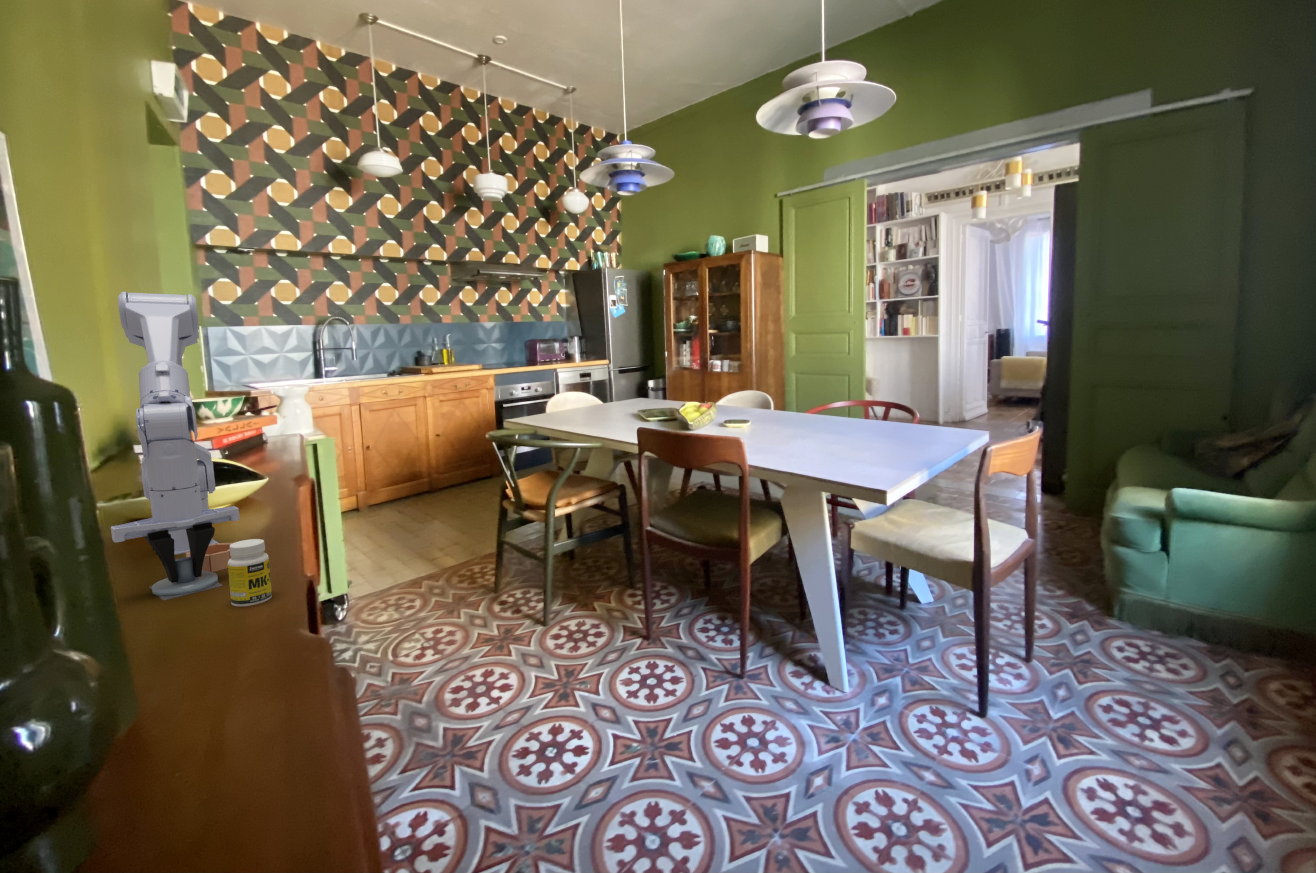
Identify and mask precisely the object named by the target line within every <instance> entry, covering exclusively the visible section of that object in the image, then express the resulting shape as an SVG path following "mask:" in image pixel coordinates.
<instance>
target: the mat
mask: <svg viewBox="0 0 1316 873" xmlns="http://www.w3.org/2000/svg"><path fill="white" fill-rule="evenodd" d="M223 585H224V584H223ZM223 585H222V583H220V582H219V581H218V582H217V583H216V584H214V585H213V586H211V587H209V588H206V589H203V590H200V591H197V592H193V593H188V594H183V595H176V596H158V598H160V599H161V600H162V602H163V601H168V600H171V599H172V600H173V599H176V598H180V597H184V596H188V595H191V594H192V595H193V594H197V593H199V592H205V591H209V590H212V589H217V588H221V587H223ZM152 586H153V585H150V586H148V587H149V589H150V590H152Z"/></svg>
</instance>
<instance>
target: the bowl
mask: <svg viewBox="0 0 1316 873" xmlns="http://www.w3.org/2000/svg"><path fill="white" fill-rule="evenodd" d="M233 543H234V542H221V543H220V542H218V543H217V544H211V545H209V546H208V548H207V551H206V554H205V557H204V561H203V566H202V572H214V573H216V572H218V571H223V570H228V561H229V559H230V558H232V556H230V545H231V544H233ZM185 557H190V551H188V552H186V553H185Z"/></svg>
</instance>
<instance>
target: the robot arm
mask: <svg viewBox="0 0 1316 873" xmlns="http://www.w3.org/2000/svg"><path fill="white" fill-rule="evenodd" d="M117 299H118V311H119V312H118V313H119V318H120V324H121V328H122V329H123V331H124V335H125V337H126V338H127V339H128V341H129V343H131V344H133V345H136V346H139V347H142V348H144V350H145V353H146V357H147V358H146V359H147V362H148V363H147V364H146V365H144V366H142V367H141V368H140V370H139V372H138V384H139V386H138V388H139V406H140V408H139V407H137V408H136V409H135V423H136V431H137V436H138V437H137V438H138V440H139V442H140V445H141V450H142V458H141V481H142V489H143V495H144V498H146V499H147V500H148V501H149V502H150V510H151V517H149V518H145V519H140V520H137V521H136V520H135V521H131V522H127V523H124V524H123V523H122V524H118V525H112V526H110V532H111V539H112V541H113V542H114V543H121V542H125V541H126V540H132V539H138V538H142V537H143V538H144V540H146V541H147V543H148V544H149V546H151V548H152V549H153V551H154V552H155V554H156V555H157V557H158V558H159V560H160V561H161V564H162V565H163V567H164V571H165V572H166V575H167V578H168V580H169V581H170V582H171V583H174V582H178V574H177V569H176V564H175V560H176V559H175V557H176V555H180V554H186V552H188V551H190V557H192V558H193V567H194V576H195V577H200V576H202V566H203V561H204V557H205V554H206V551H207V548H208V546H209V545H211V544H217V543H219V542H218V541H217V540H215V539H213V537H214V536H215V531H216V529H215V527H214V526H213V525H215V524H220V523H225V522H237V521H240V511H239V510H240V509H239V507H237V506H235V505H232V506H227V507H217V508H210V506H209V495H210V494H213V493H214V492H215V491H216V479H215V471H214V462H213V459H212V453H211V452H210V450H209V449H208V448H206V447H205V446H202V445H200V444H197V443H196V442H197V440H198V424H197V415H196V408H195V406H194V404H193V400H192V396H191V391H190V381H189V373H188V372H187V370H186V369H185V367H184V366H183V356H184V352H185V350H186V348H187V347H189V346H190V347H191V346H192V345H196V344H197V343H198V339H199V338H200V336H199V334H200V333H199V330H200V324H199V316H198V306H197V297H196V296H194V295H193V294H192V293H188V294H171V293H170V294H169V293H152V292H151V293H146V292H128V291H121V293H120V294H118V297H117ZM190 432H192V433H193V434H194V441H193V439H191V433H190Z"/></svg>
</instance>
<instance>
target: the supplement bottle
mask: <svg viewBox="0 0 1316 873" xmlns="http://www.w3.org/2000/svg"><path fill="white" fill-rule="evenodd" d="M232 543H233V544H231V545H230V556H232V558H230V559H229V561H228V569H227V572H228V581H229V582H228V583H229V594H230V595H229V596H230V603H231V605H232V606H235V607H249V606H255V605H258V604H261V603H265V602H266V601H269V600H270V599H271V598H272V596H273V593H272V578H271V567H270V557H269V554H268V553H267V552H265V551H266V545H265V540H264V539H260V538H252V539H244V540H239V541H235V542H232Z"/></svg>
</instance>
